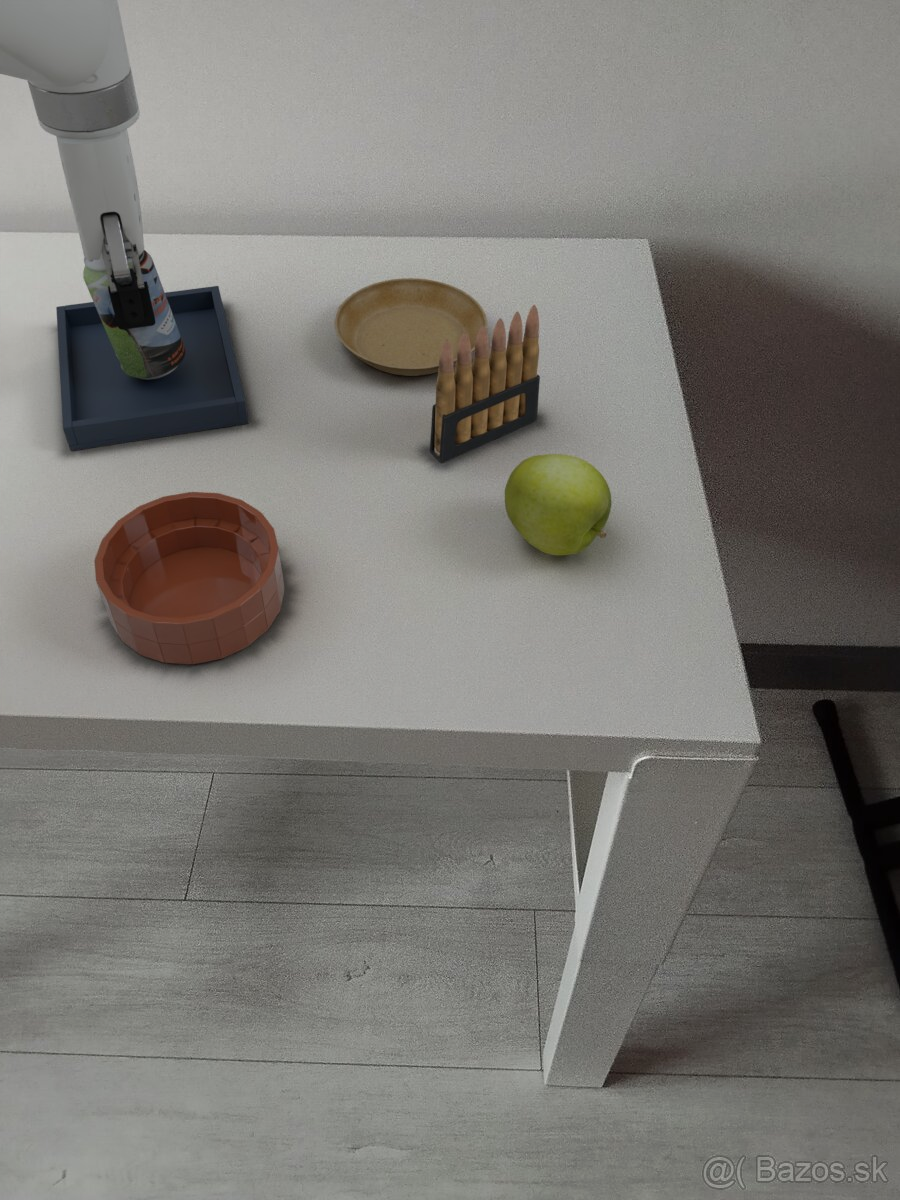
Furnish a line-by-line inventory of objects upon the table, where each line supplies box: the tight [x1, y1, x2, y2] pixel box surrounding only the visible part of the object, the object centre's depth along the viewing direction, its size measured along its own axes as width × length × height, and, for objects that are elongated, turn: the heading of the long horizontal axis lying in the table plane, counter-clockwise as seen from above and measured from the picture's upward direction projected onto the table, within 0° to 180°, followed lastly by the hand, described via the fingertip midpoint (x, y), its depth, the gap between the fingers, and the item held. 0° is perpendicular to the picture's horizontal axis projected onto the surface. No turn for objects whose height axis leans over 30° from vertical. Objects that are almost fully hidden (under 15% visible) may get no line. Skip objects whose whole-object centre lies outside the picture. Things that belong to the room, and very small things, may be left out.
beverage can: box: [82, 242, 186, 380], centre depth 93 cm, size 6×7×12 cm
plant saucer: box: [333, 277, 488, 377], centre depth 101 cm, size 15×15×3 cm
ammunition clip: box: [429, 304, 541, 464], centre depth 89 cm, size 11×2×12 cm, turn 125°
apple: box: [504, 453, 612, 556], centre depth 82 cm, size 8×9×8 cm
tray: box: [55, 285, 249, 452], centre depth 97 cm, size 16×19×3 cm
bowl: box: [93, 491, 286, 665], centre depth 78 cm, size 13×13×5 cm
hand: (133, 302), depth 92 cm, fingers closed on beverage can, 6 cm apart
